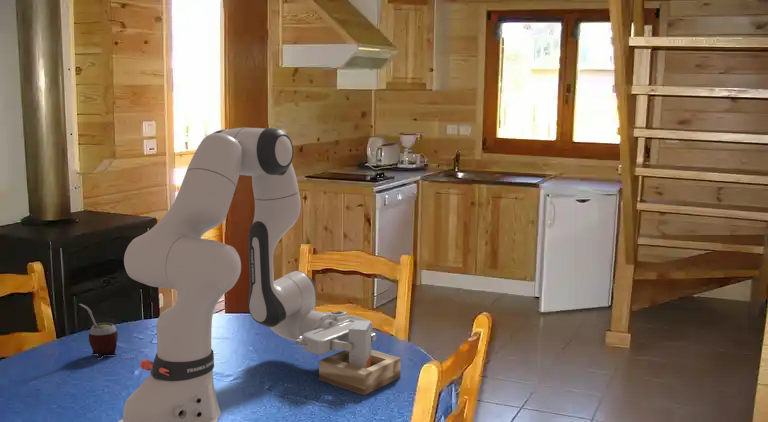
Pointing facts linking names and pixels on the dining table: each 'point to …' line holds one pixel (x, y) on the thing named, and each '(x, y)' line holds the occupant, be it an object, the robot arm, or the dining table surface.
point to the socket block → (359, 372)
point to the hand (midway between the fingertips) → (363, 342)
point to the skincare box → (360, 344)
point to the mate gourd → (102, 337)
